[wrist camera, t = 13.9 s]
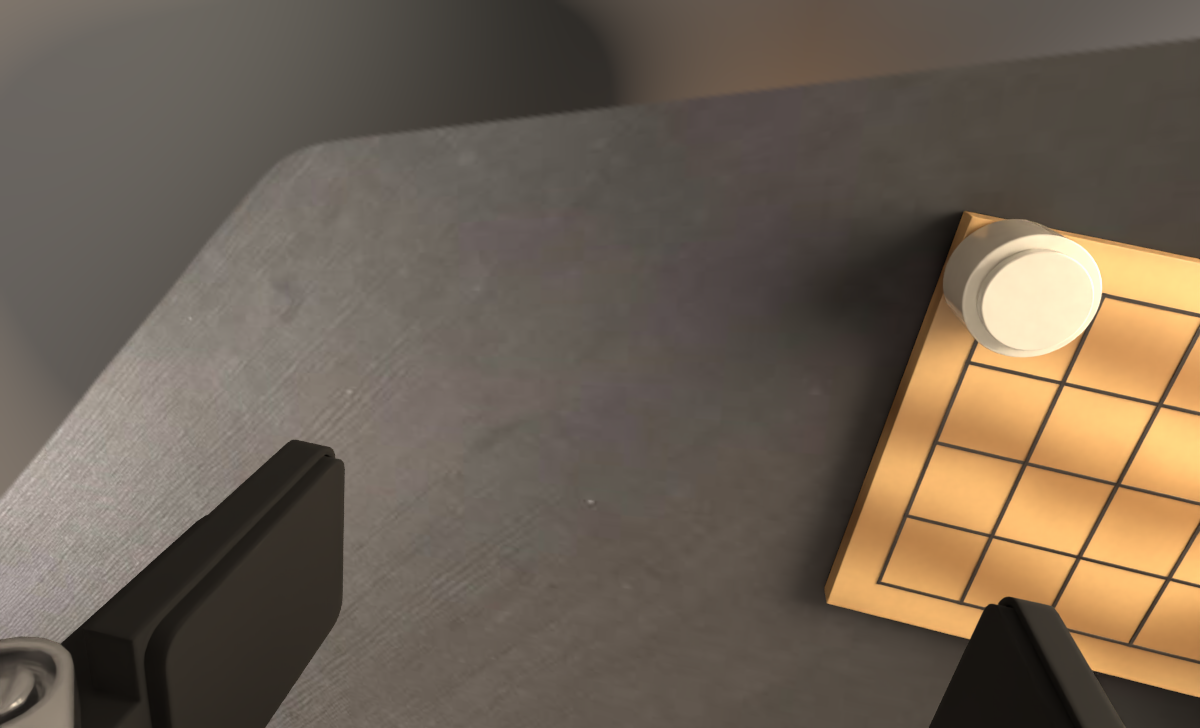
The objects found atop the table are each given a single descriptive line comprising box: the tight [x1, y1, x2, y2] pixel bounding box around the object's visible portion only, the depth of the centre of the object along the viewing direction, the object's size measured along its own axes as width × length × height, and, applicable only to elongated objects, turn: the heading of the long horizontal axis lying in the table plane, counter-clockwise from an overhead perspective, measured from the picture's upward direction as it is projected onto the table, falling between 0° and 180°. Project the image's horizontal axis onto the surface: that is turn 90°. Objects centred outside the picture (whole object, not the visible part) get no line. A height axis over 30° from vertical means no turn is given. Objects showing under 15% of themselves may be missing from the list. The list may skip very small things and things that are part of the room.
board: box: [824, 211, 1200, 697], centre depth 34 cm, size 20×20×1 cm
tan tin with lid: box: [943, 219, 1102, 358], centre depth 29 cm, size 5×5×4 cm
